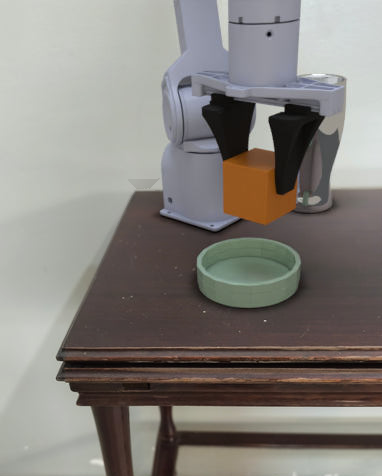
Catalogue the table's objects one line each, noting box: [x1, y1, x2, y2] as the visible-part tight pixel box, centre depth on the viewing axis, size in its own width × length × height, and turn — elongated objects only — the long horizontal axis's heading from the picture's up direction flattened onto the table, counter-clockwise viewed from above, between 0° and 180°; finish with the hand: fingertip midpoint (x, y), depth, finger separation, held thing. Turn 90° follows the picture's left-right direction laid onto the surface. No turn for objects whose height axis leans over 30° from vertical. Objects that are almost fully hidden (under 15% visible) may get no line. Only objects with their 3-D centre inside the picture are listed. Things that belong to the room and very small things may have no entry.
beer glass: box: [292, 73, 348, 214], centre depth 70 cm, size 7×7×15 cm
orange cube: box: [223, 147, 298, 226], centre depth 54 cm, size 5×5×5 cm
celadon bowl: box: [196, 237, 302, 309], centre depth 58 cm, size 10×10×2 cm
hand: (260, 185), depth 54 cm, fingers closed on orange cube, 5 cm apart
